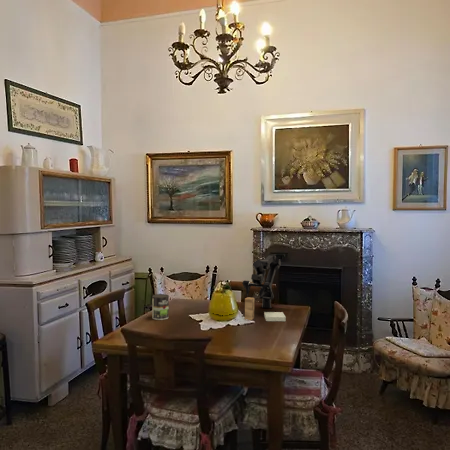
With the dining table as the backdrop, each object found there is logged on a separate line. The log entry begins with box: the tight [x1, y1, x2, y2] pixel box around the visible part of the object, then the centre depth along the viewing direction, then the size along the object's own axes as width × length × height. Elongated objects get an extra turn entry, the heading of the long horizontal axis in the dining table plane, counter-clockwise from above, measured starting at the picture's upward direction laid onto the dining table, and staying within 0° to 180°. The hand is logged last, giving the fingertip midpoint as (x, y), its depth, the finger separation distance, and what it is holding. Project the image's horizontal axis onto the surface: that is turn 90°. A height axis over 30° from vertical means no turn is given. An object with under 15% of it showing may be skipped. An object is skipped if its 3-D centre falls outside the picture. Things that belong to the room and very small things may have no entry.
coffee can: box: [151, 293, 170, 321], centre depth 270 cm, size 10×10×14 cm
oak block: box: [244, 296, 255, 321], centre depth 270 cm, size 4×4×13 cm
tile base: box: [263, 311, 287, 322], centre depth 272 cm, size 12×12×2 cm
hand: (253, 296), depth 276 cm, fingers open, 9 cm apart
